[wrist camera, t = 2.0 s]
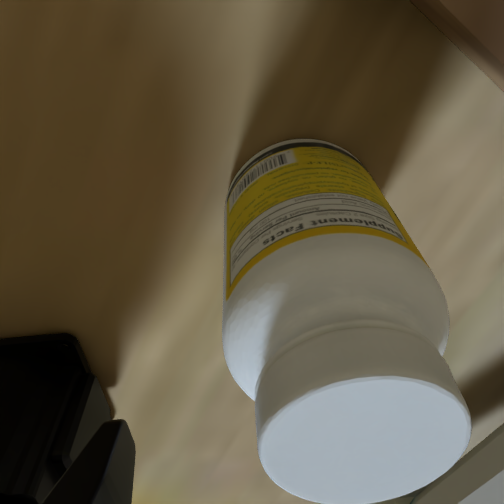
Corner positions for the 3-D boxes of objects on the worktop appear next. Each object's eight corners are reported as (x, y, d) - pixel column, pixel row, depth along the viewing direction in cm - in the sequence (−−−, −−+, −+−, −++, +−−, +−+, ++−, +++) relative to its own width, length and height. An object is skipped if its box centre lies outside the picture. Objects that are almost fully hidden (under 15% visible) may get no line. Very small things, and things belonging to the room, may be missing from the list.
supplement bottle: (350, 274, 18) (442, 532, 10) (216, 258, 18) (199, 519, 10) (395, 145, 16) (573, 362, 7) (236, 121, 15) (238, 327, 7)
